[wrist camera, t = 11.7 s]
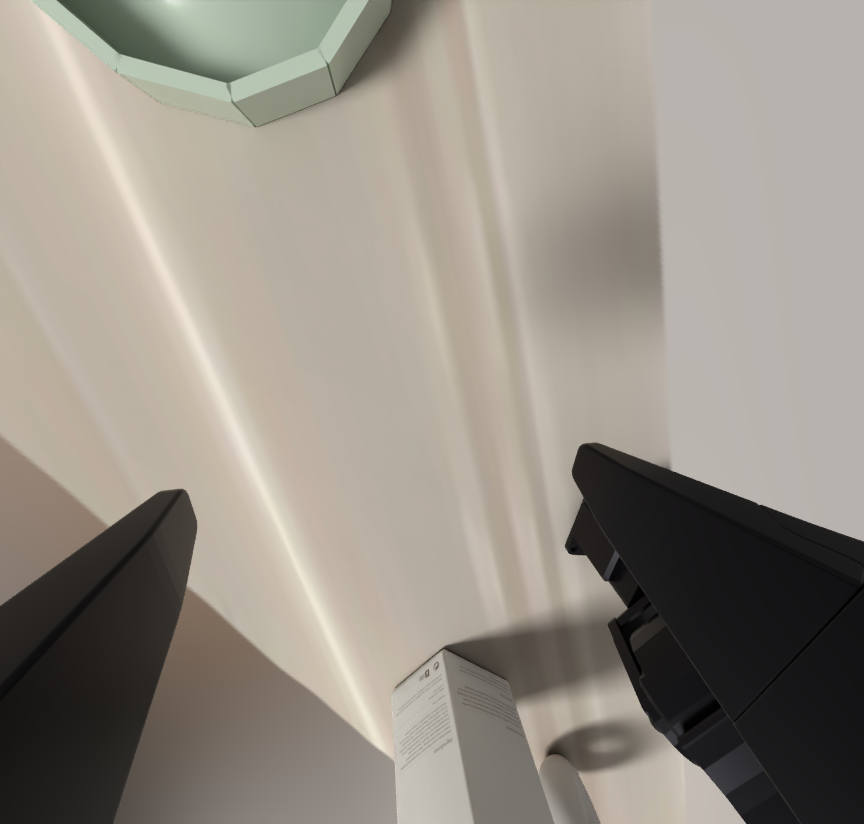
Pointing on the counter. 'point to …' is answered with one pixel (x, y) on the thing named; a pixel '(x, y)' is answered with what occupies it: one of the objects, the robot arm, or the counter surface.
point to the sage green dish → (227, 49)
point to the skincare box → (462, 749)
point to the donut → (566, 792)
